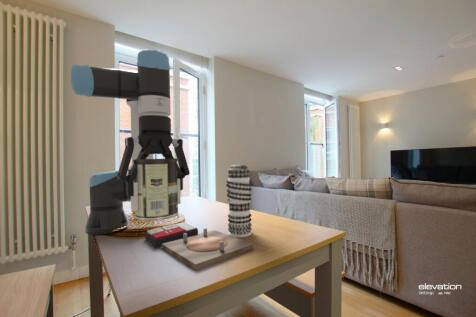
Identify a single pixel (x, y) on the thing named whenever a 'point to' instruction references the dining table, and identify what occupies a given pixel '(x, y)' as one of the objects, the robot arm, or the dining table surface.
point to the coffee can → (156, 189)
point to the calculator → (169, 233)
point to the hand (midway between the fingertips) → (156, 206)
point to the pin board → (206, 248)
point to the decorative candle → (239, 201)
